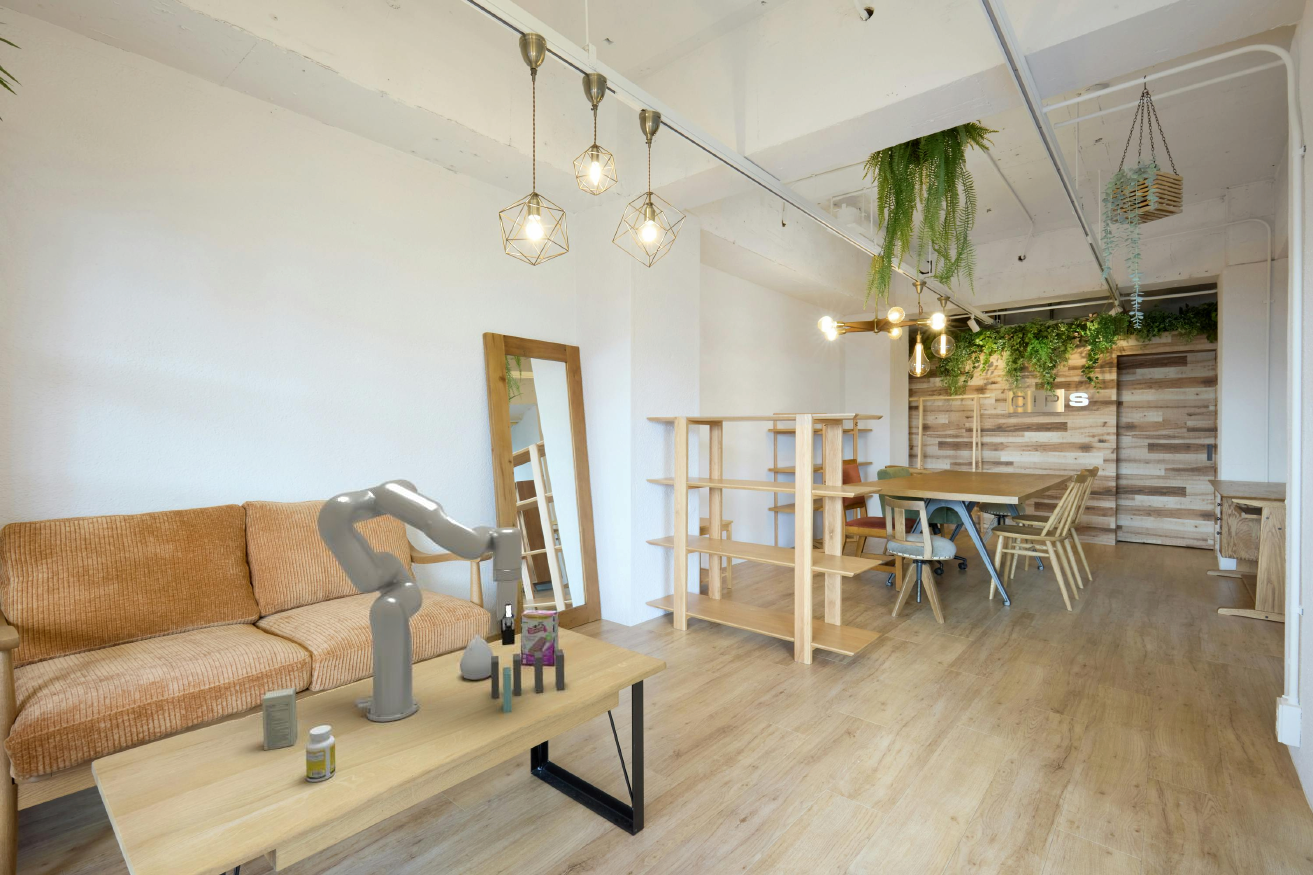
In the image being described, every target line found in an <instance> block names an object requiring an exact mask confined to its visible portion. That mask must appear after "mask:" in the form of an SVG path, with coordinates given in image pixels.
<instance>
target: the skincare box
mask: <svg viewBox="0 0 1313 875" xmlns="http://www.w3.org/2000/svg"><path fill="white" fill-rule="evenodd" d="M261 699H262V701H261V702H262V704H261V705H262V727H263V728H262V729H263V750H264V751H268V750H274V749H279V748H285V747H291V746H294V745H295V744H296V742H297V739H298V718H297V717H298V716H297V714H298V713H297V691H296V687H290V688H289V687H288V688H282V689H277V690H271V691H266V693H265V694H264V695H263V697H262V698H261Z"/></svg>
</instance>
